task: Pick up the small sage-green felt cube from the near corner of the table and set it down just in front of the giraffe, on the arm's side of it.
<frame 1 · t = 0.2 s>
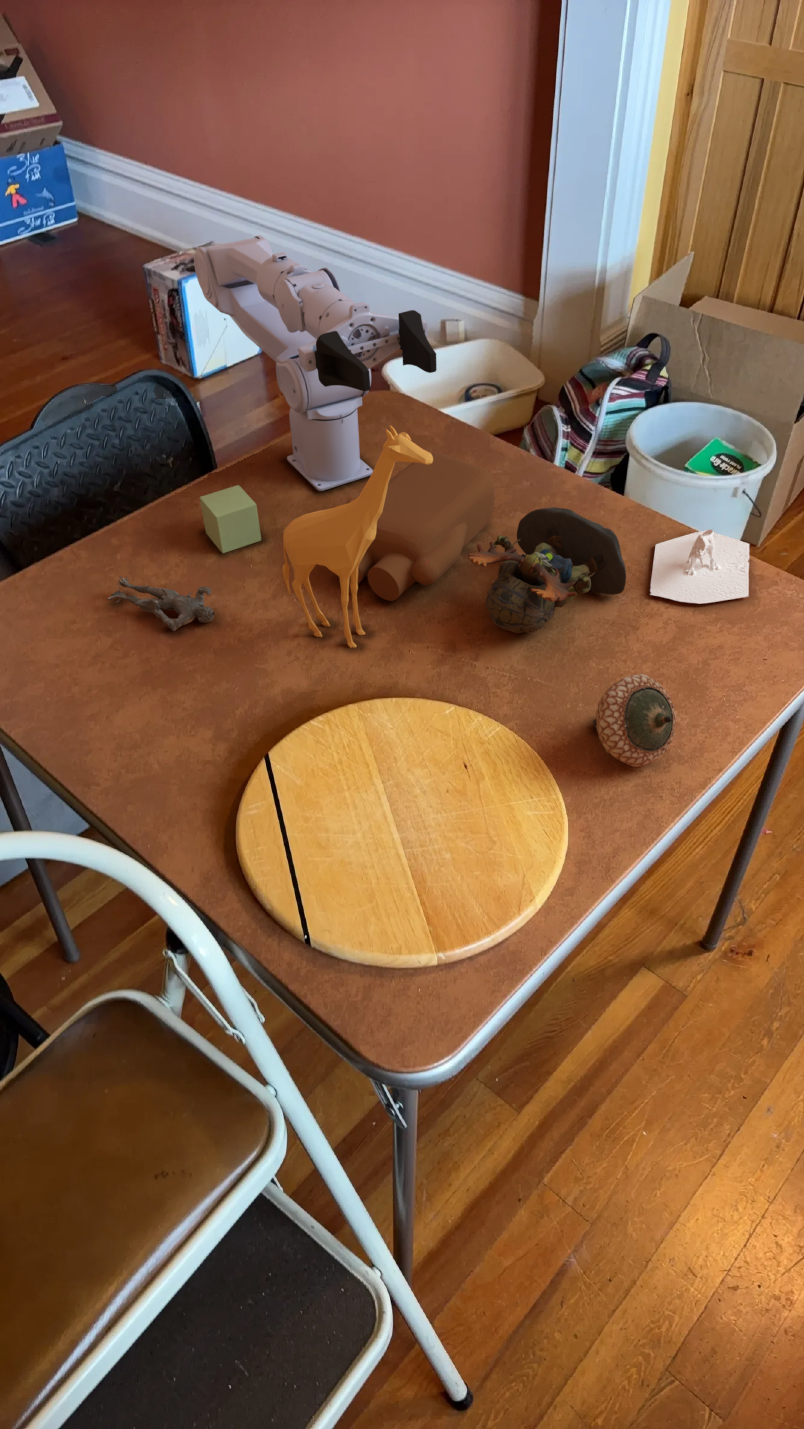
hand: (400, 371, 101), 21 cm above the table, tool horizontal, fingers open, 7 cm apart
figurine 2: (539, 605, 107), on the table
toy: (417, 551, 115), on the table
felt cube: (233, 536, 117), on the table
acorn: (595, 722, 94), on the table
figurine: (165, 611, 108), on the table
dinosaur figurine: (700, 579, 111), on the table
giraffe: (358, 641, 104), on the table
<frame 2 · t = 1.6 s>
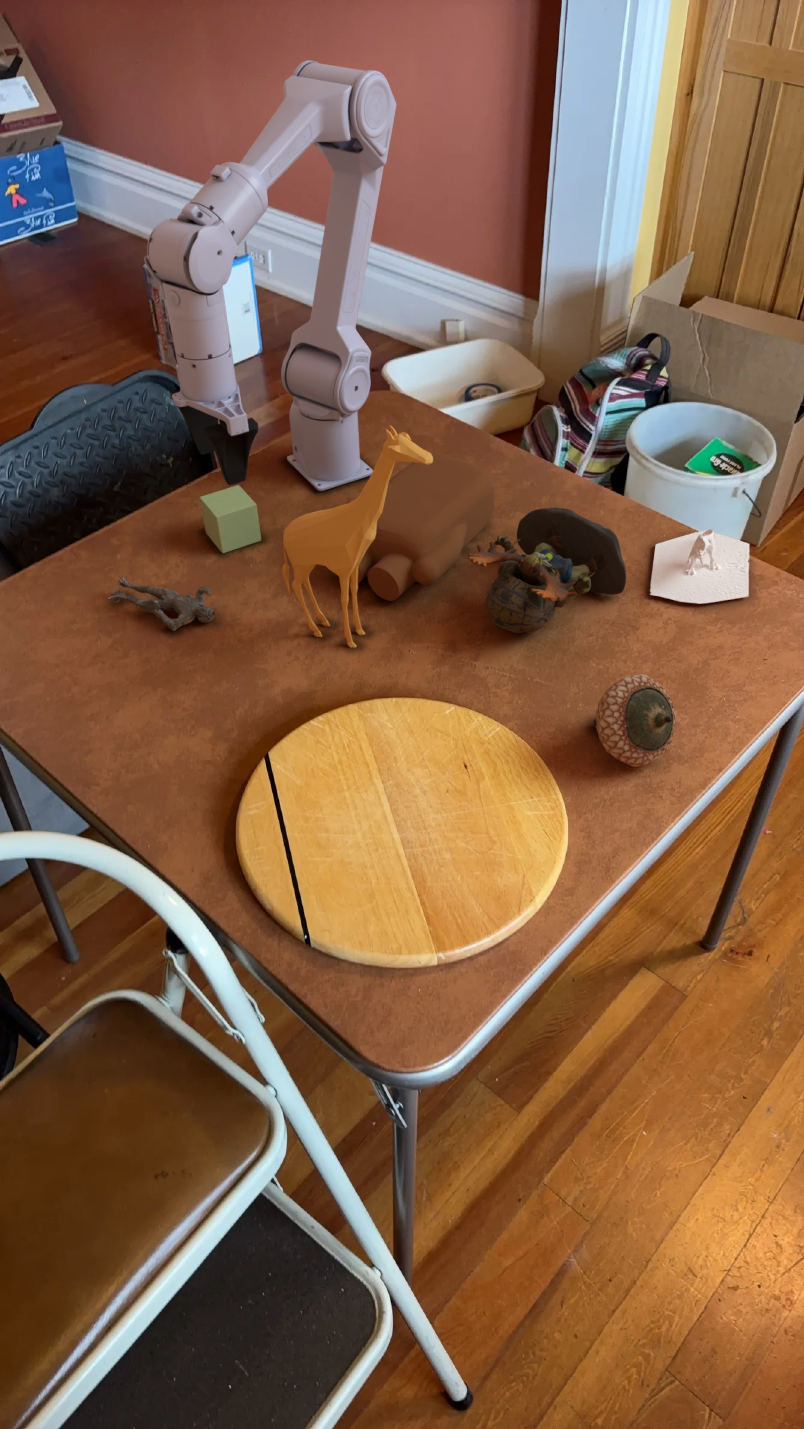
hand: (222, 466, 111), 9 cm above the table, tool pointing down, fingers open, 7 cm apart
nothing on the table moved.
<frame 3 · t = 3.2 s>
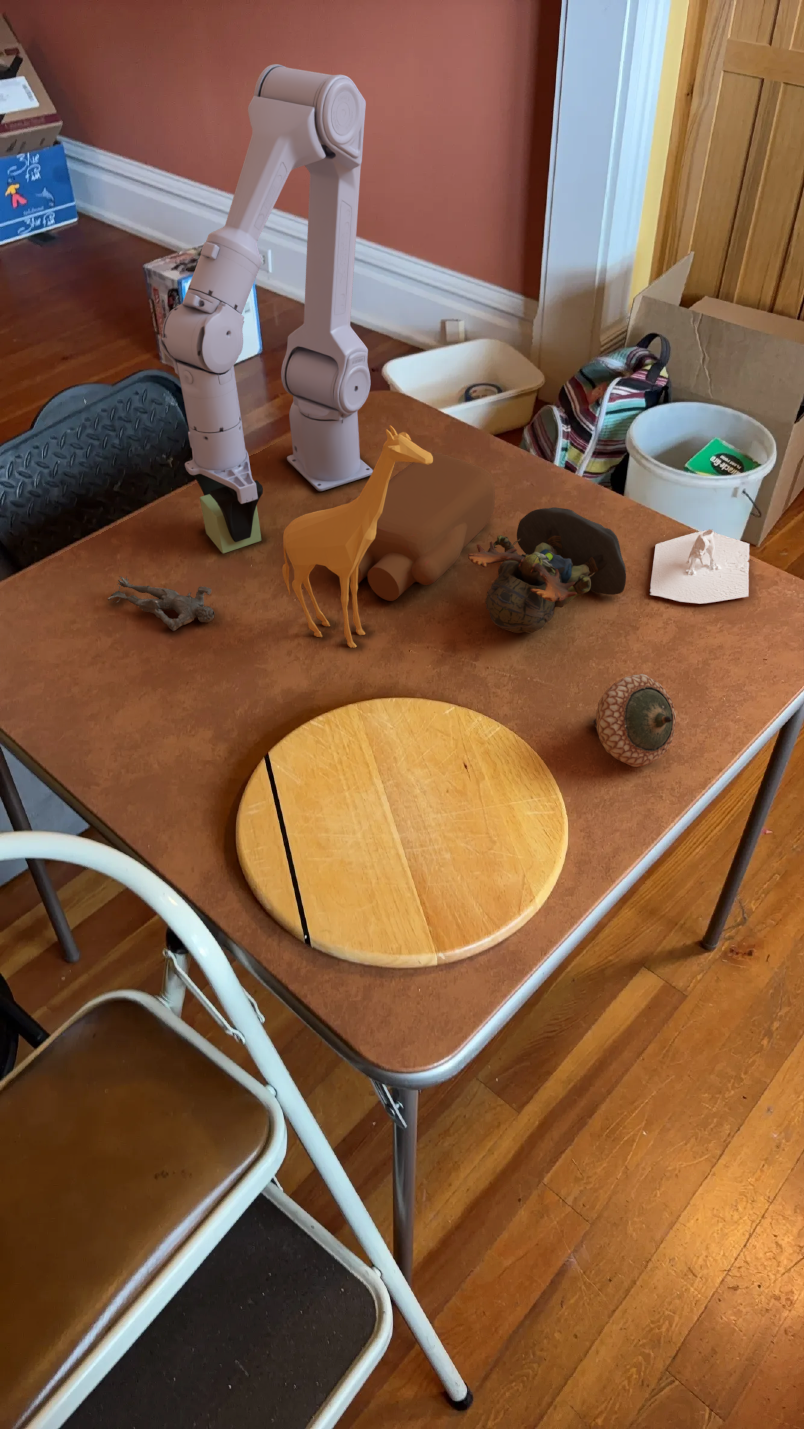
hand: (231, 526, 116), 1 cm above the table, tool pointing down, fingers closed on felt cube, 5 cm apart
felt cube: (233, 537, 117), on the table, touching gripper
everything else where it was.
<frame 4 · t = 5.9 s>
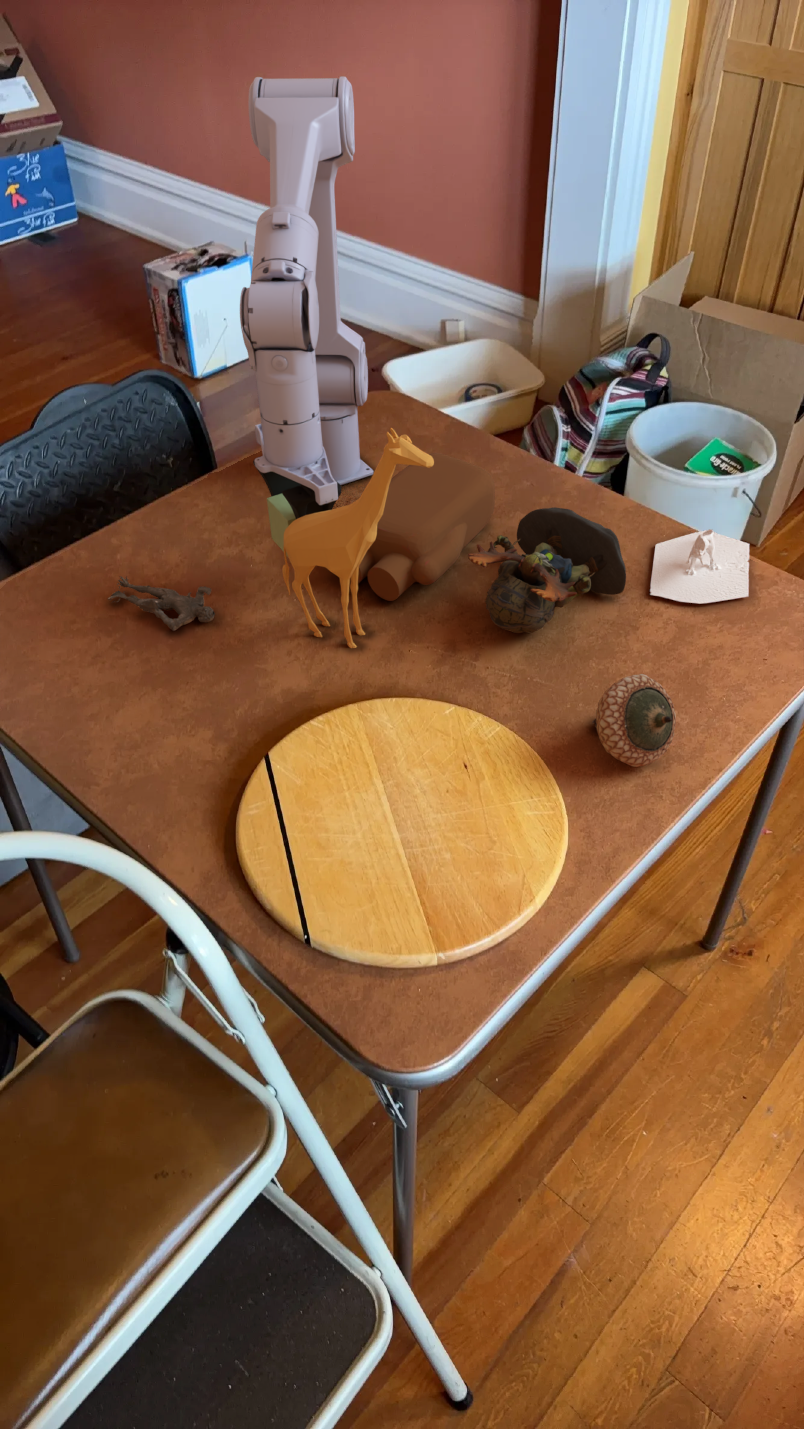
hand: (302, 531, 104), 8 cm above the table, tool pointing down, fingers closed on felt cube, 5 cm apart
felt cube: (302, 542, 105), point 6 cm above the table, touching gripper
giraffe: (358, 641, 104), on the table, touching gripper
everything else where it was.
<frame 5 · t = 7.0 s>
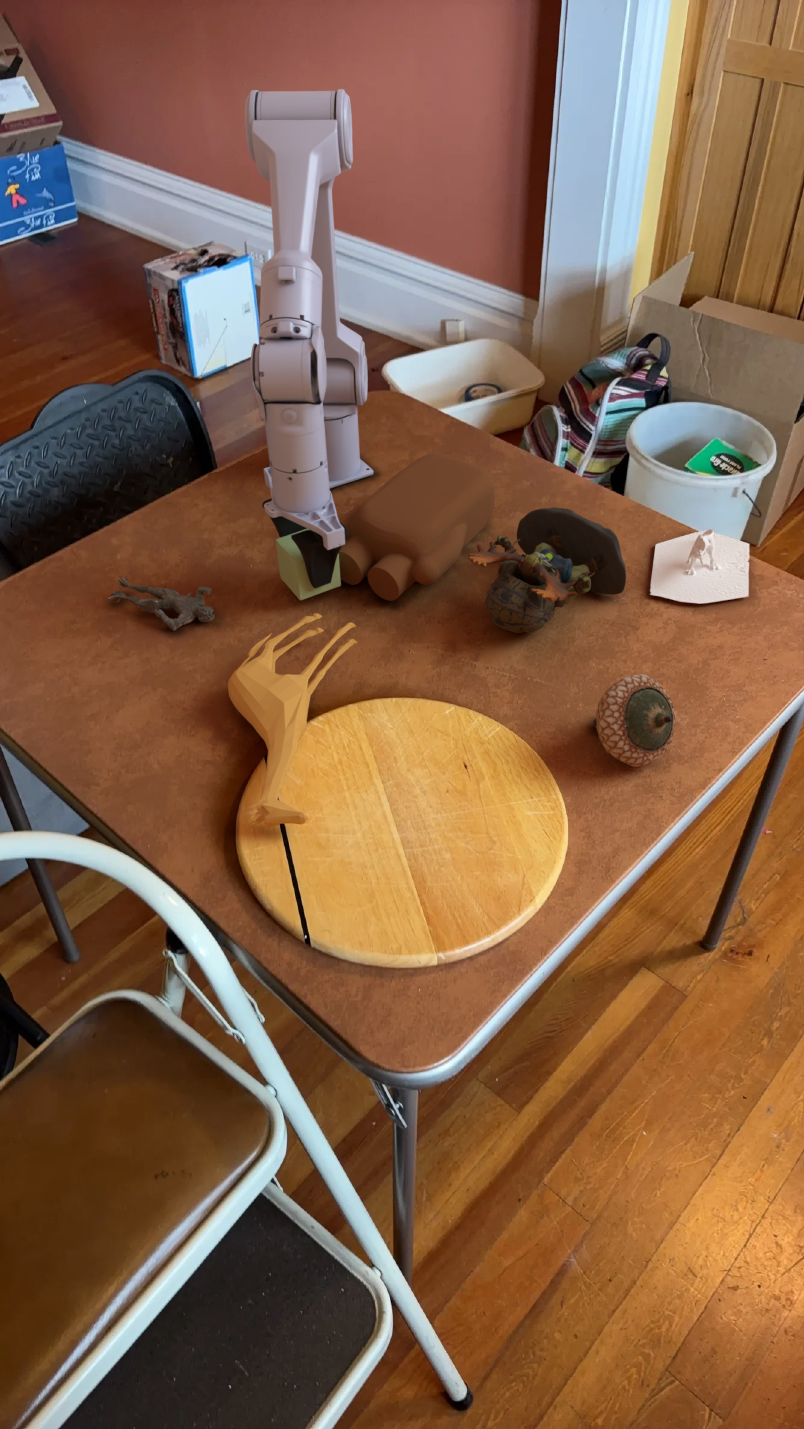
hand: (309, 570, 107), 3 cm above the table, tool pointing down, fingers closed on felt cube, 5 cm apart
felt cube: (310, 581, 108), point 1 cm above the table, touching gripper
giraffe: (355, 632, 100), point 2 cm above the table
everything else where it was.
when the fingers open (1 cm above the table, at t = 8.0 s): felt cube stays where it is, on the table.
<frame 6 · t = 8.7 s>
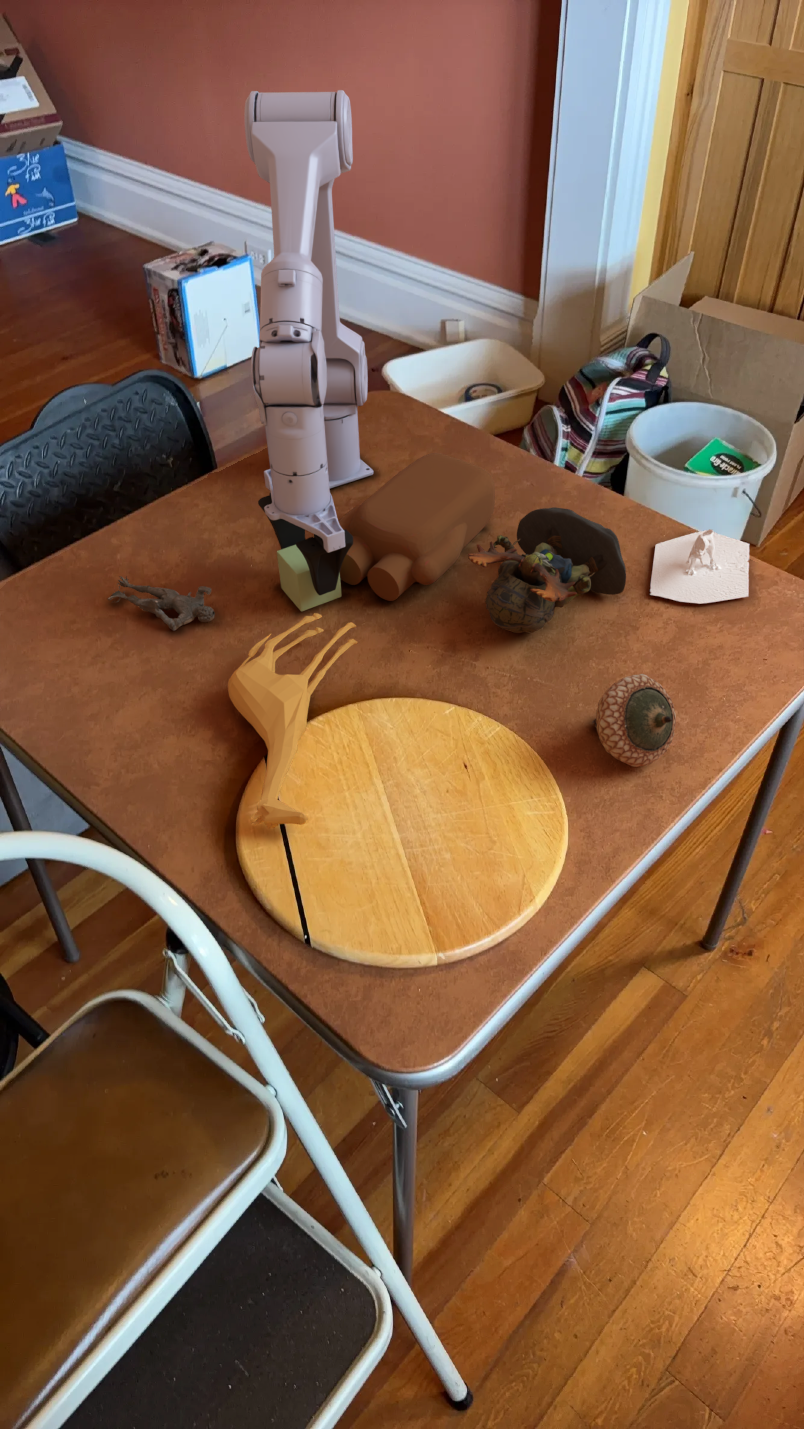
hand: (309, 572, 108), 3 cm above the table, tool pointing down, fingers open, 7 cm apart
felt cube: (311, 592, 109), on the table
everything else where it was.
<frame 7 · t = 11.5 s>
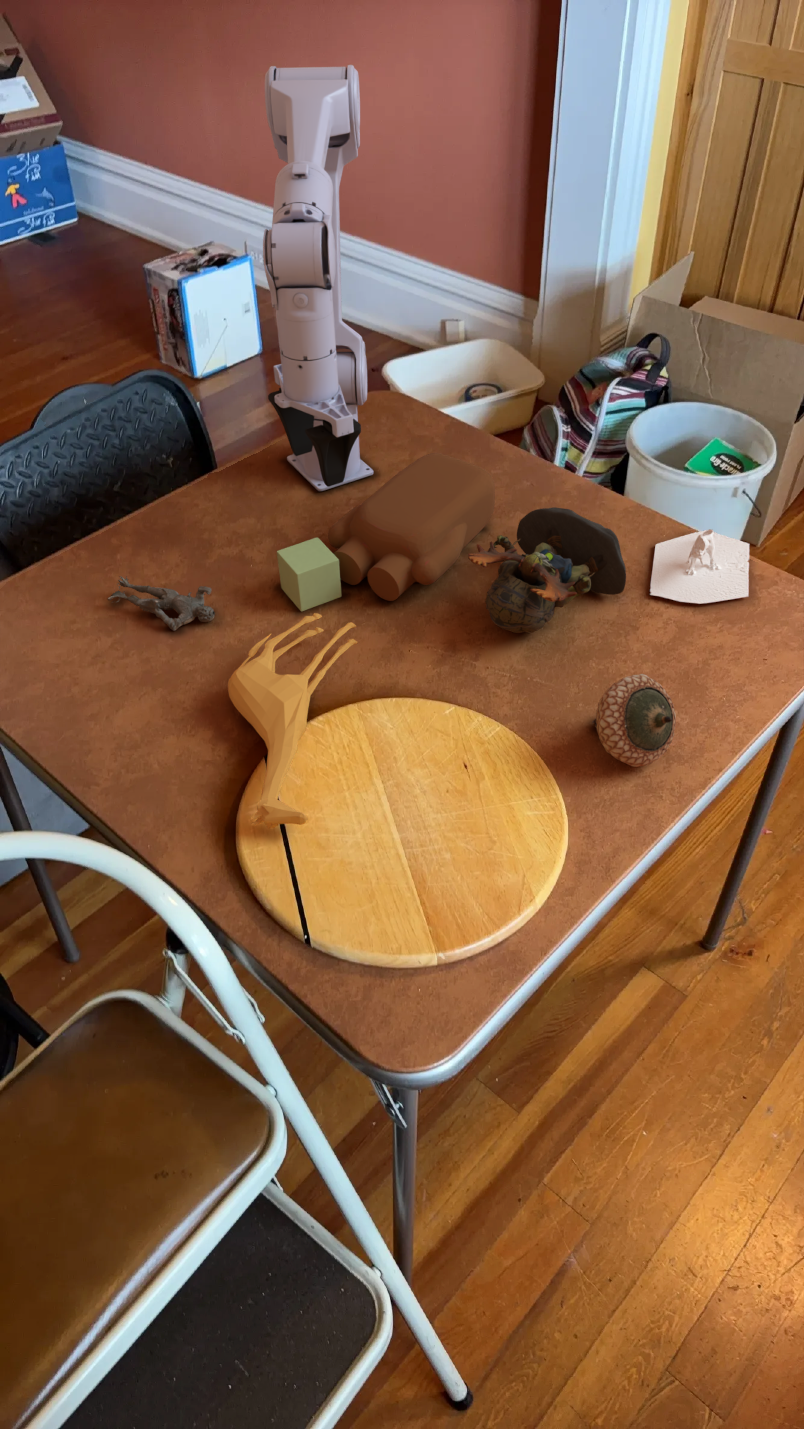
hand: (318, 467, 110), 9 cm above the table, tool pointing down, fingers open, 7 cm apart
nothing on the table moved.
at the end: felt cube inside the target area on the table beside the giraffe (1.9 cm from its centre), on the table; felt cube on the table; the gripper is holding nothing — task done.
